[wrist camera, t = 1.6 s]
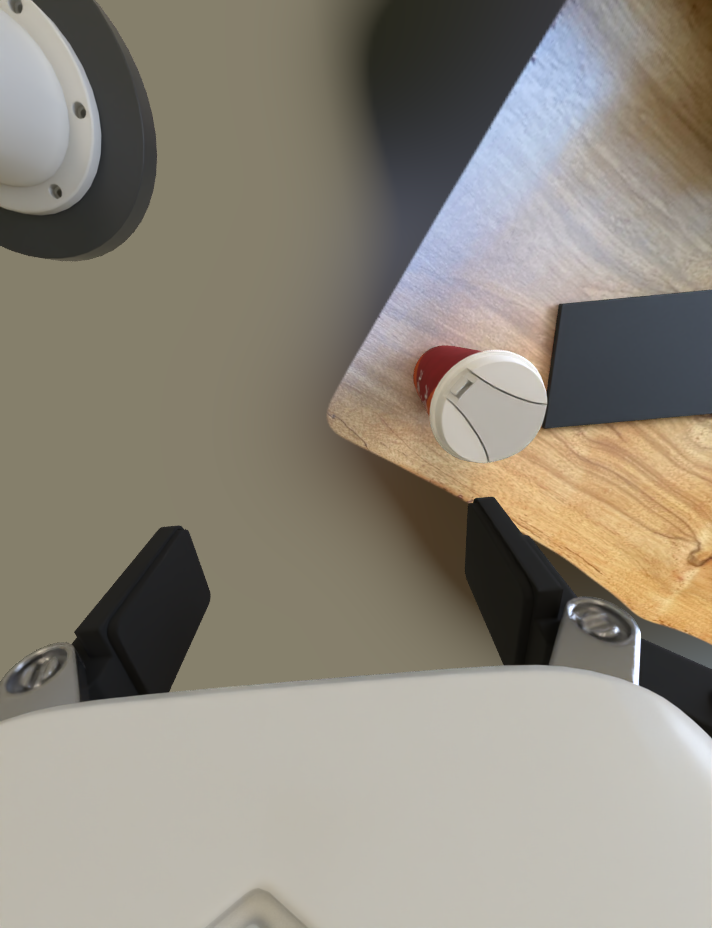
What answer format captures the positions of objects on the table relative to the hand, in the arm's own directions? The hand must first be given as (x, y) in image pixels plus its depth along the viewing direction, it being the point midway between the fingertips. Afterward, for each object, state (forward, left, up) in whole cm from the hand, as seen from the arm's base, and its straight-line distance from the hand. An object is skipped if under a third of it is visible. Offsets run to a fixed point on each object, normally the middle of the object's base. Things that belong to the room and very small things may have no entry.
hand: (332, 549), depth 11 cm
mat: (+35, +6, -26) cm, 44 cm away
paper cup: (+10, +2, -26) cm, 28 cm away
